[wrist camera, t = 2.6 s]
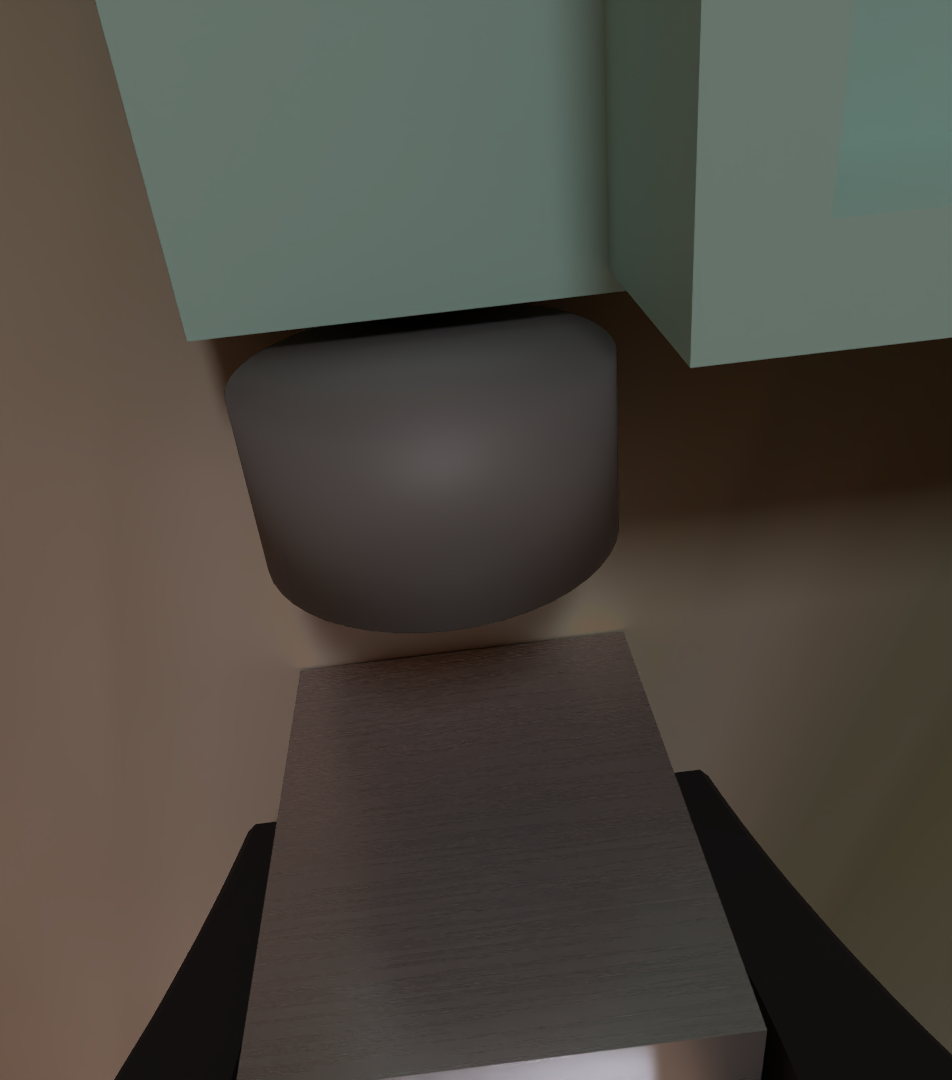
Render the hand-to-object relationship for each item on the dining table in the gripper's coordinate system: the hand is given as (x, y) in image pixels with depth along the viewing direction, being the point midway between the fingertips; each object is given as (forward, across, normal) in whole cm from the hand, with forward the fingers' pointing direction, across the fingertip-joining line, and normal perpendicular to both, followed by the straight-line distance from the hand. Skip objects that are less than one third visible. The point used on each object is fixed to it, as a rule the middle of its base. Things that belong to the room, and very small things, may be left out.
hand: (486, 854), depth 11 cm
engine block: (+1, 0, 0) cm, 1 cm away
